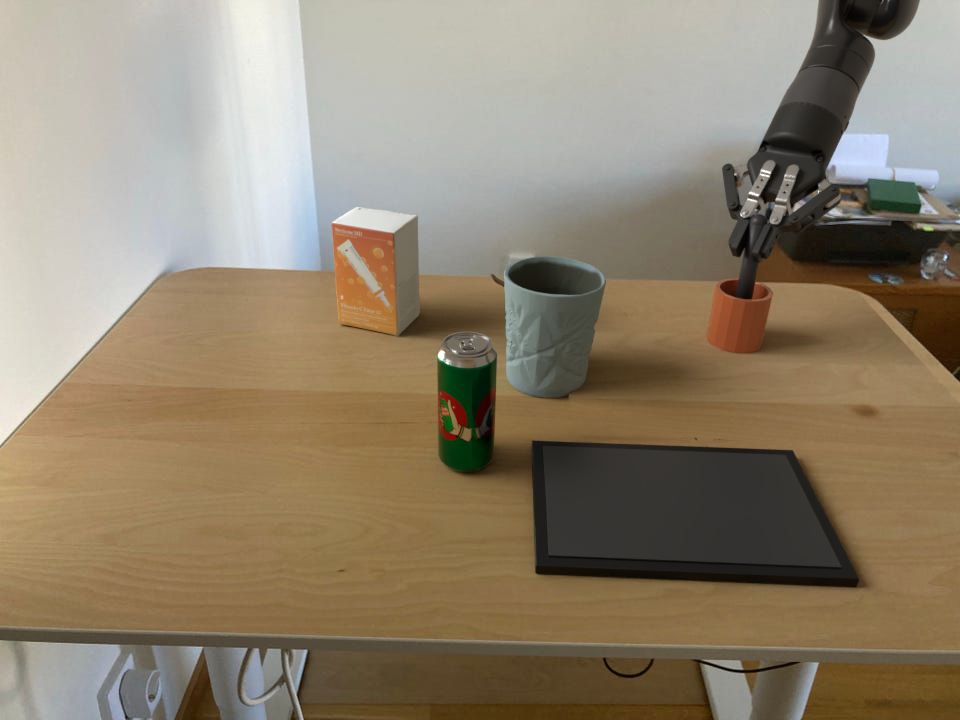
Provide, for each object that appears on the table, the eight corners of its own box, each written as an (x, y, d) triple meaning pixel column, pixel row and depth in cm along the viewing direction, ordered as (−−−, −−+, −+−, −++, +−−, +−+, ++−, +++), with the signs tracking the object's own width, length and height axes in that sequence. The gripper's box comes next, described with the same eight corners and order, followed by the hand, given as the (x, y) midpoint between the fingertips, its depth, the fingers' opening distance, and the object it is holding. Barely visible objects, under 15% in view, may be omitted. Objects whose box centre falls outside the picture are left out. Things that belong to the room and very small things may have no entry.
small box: (337, 325, 93) (329, 221, 87) (363, 304, 98) (356, 204, 92) (398, 337, 91) (394, 232, 84) (421, 315, 96) (419, 214, 89)
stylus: (744, 319, 90) (766, 212, 84) (748, 326, 89) (770, 217, 82) (729, 319, 90) (749, 211, 84) (732, 326, 89) (753, 217, 82)
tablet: (790, 457, 72) (793, 448, 71) (856, 587, 58) (860, 577, 57) (531, 447, 72) (531, 438, 72) (535, 574, 58) (535, 564, 58)
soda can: (488, 439, 73) (491, 327, 67) (498, 472, 69) (502, 355, 63) (435, 444, 72) (433, 331, 67) (442, 478, 68) (441, 360, 62)
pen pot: (752, 332, 93) (764, 279, 90) (767, 357, 88) (780, 302, 85) (700, 330, 94) (710, 277, 90) (712, 355, 88) (722, 300, 85)
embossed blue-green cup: (484, 365, 85) (486, 264, 79) (561, 346, 89) (569, 249, 84) (531, 411, 78) (537, 303, 72) (613, 388, 82) (626, 284, 76)
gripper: (744, 91, 86) (679, 224, 84) (874, 109, 79) (805, 256, 77) (754, 131, 93) (693, 256, 90) (875, 151, 85) (812, 288, 83)
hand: (745, 255), depth 84 cm, fingers closed on stylus, 2 cm apart
